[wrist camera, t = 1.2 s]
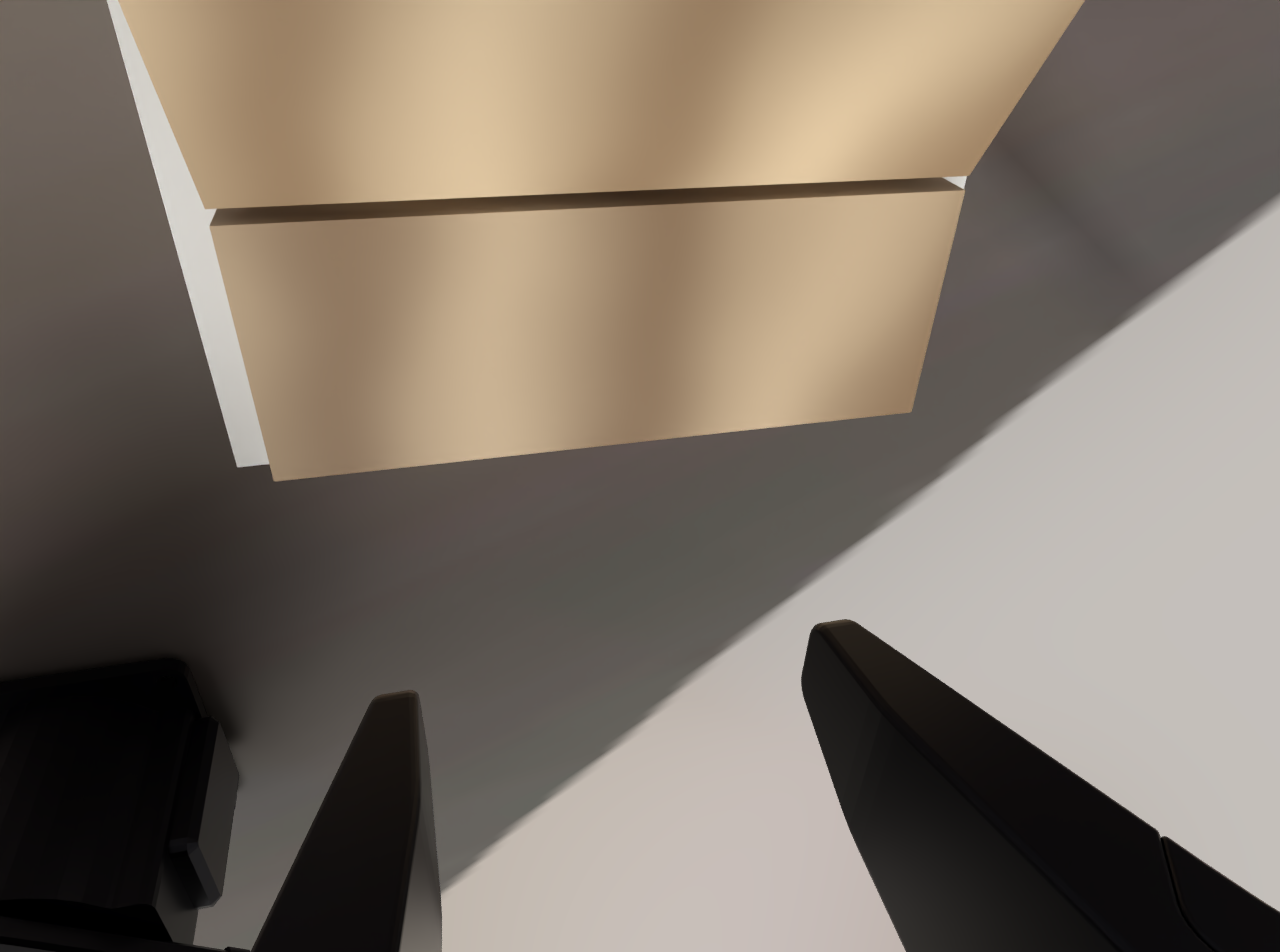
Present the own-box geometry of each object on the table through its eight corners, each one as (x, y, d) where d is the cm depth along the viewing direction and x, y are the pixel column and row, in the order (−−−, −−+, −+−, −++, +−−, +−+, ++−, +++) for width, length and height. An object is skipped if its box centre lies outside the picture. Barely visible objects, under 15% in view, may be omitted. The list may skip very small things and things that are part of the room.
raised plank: (205, 145, 16) (205, 209, 15) (57, -241, 10) (48, -166, 10) (945, 123, 19) (969, 175, 18) (1120, -177, 14) (1162, -118, 13)
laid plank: (279, 444, 20) (273, 481, 18) (220, 199, 17) (209, 226, 15) (883, 383, 23) (911, 411, 22) (929, 170, 20) (965, 190, 19)
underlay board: (242, 444, 20) (237, 467, 20) (20, -376, 13) (-3, -392, 12) (895, 378, 24) (913, 396, 23) (1045, -285, 16) (1080, -292, 15)
